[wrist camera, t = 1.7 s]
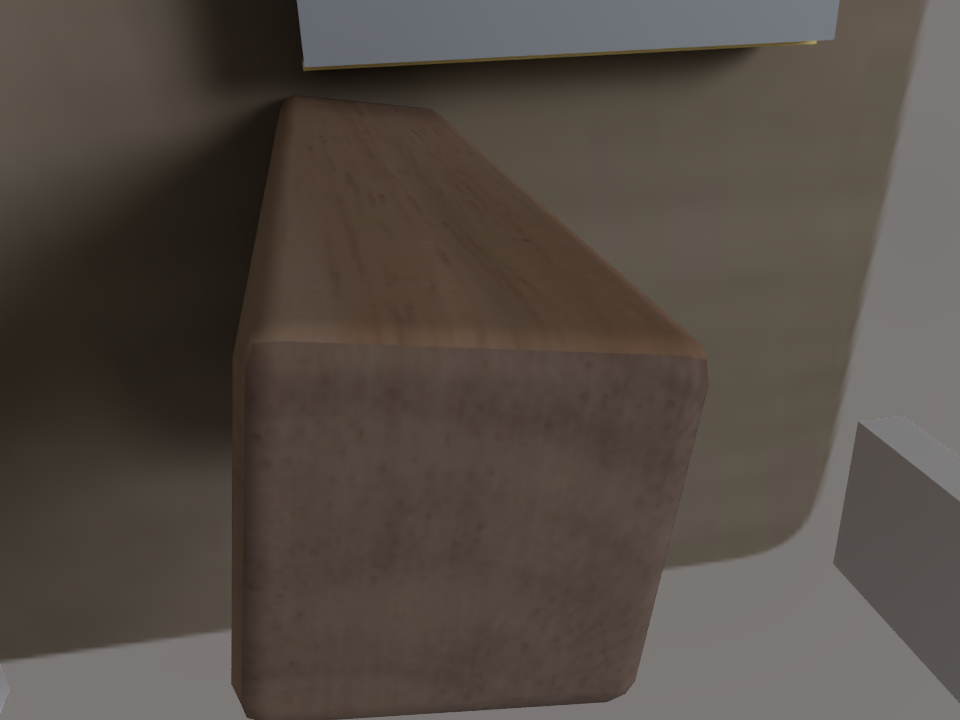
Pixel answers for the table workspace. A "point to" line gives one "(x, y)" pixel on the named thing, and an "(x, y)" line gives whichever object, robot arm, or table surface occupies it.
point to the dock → (545, 28)
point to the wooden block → (441, 434)
